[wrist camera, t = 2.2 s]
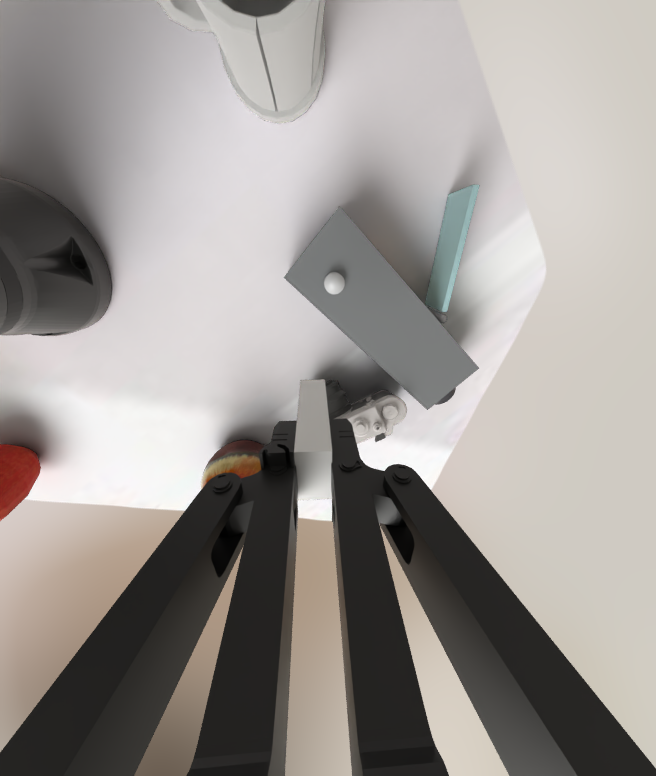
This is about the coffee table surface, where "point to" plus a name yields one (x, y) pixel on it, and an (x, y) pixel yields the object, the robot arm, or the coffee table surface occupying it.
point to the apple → (16, 475)
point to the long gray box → (379, 311)
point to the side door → (450, 249)
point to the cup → (263, 49)
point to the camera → (366, 412)
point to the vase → (234, 460)
